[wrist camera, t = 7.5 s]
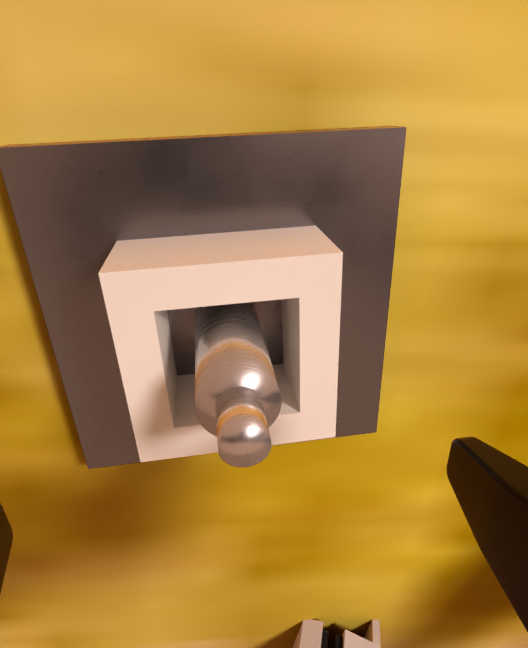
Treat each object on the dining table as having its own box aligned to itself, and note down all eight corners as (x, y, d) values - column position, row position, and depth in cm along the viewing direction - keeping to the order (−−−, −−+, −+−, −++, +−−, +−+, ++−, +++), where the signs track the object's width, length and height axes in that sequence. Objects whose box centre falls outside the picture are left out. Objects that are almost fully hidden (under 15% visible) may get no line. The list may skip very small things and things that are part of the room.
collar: (315, 225, 15) (343, 252, 12) (314, 386, 17) (335, 436, 15) (117, 240, 14) (98, 273, 11) (149, 405, 17) (140, 462, 14)
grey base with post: (393, 125, 14) (562, 143, 8) (368, 417, 20) (455, 575, 13) (8, 145, 13) (-184, 186, 6) (93, 451, 19) (36, 645, 12)
